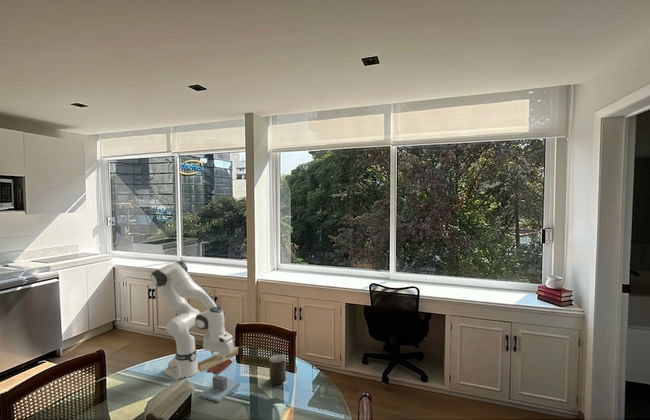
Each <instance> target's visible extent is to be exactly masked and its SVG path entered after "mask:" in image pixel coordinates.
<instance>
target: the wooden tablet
mask: <svg viewBox="0 0 650 420" xmlns="http://www.w3.org/2000/svg"><path fill="white" fill-rule="evenodd" d="M231 363H232V361H231V360H230V359H228V360H226V361H224V362H222V363H220V364H218V365H216V366H214V367H211V368H209V369H207V370H206V373H211V374H213V375H218V374H220V373H222V372H224V370H227V368H228V367H230V365H232V364H233V363H232V364H231Z"/></svg>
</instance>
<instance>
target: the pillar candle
mask: <svg viewBox="0 0 650 420" xmlns="http://www.w3.org/2000/svg"><path fill="white" fill-rule="evenodd" d="M286 368H287V367H286V356H285V355H282V354H274V355H272V356H271V357H270V358H269V381H270V383H271V384H272V385H281V384H283V382H284V383H285V380H286V381H287V377H286V376H287V374H286V373H287V372H286V370H287V369H286Z"/></svg>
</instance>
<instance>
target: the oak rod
mask: <svg viewBox="0 0 650 420" xmlns="http://www.w3.org/2000/svg"><path fill="white" fill-rule="evenodd" d="M215 354H216V355H214V356H213V355H211V356H210V357H208V358H205V359H203V360H201V361H199V362H198V370H199V371H198V372H200V373H203V372H206V371H207V370H208V369H209V368H211V367H214V366H216V365H218V364H220V363H222V362H224V361H226V360H228V359H230V358H232V357H234V356H236V355H238V354H239V347H236V346H234V352H233V353H232V354H230V355H227V354H226V355H225V360H221V357H222V356H223V355H222V353H218V352H217V353H215Z"/></svg>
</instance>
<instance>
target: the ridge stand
mask: <svg viewBox="0 0 650 420" xmlns="http://www.w3.org/2000/svg"><path fill="white" fill-rule="evenodd" d="M240 385H241V382H240V381H236V380H233V379H232V380H231V379H228V377H226V376H221V375H218V374H214V376H212V384H211V385H210V386H208V387H207V388H206V389H204V390H203V391H202V392H201V393H199V396H200V395H201V396H203V397H206V398H209V399H212V400H215V401H217V402H216V403H221V402H222V401H223V400H224V399H225V398H227V396H228V395H230V394H231V393H233V391H234V390H236V389H237V388H238V387H239V386H240ZM209 399H208V400H209ZM222 399H223V400H222ZM212 400H211V401H212ZM221 400H222V401H221ZM215 401H214V402H215Z"/></svg>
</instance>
